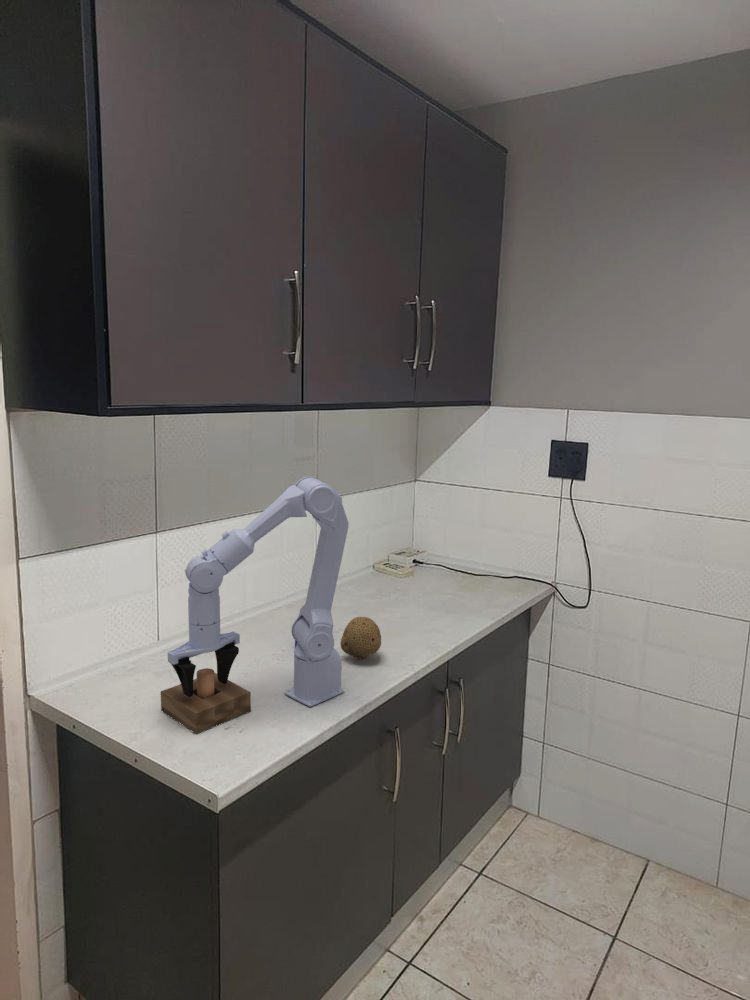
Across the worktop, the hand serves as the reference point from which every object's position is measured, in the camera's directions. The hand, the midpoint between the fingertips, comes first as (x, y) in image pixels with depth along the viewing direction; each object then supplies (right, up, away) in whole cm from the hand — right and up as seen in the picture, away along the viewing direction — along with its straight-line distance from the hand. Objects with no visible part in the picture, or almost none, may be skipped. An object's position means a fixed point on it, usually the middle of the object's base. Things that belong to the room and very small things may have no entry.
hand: (205, 688), depth 130 cm
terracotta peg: (0, -4, +1) cm, 4 cm away
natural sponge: (+29, -1, +27) cm, 40 cm away
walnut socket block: (0, -5, +1) cm, 5 cm away
